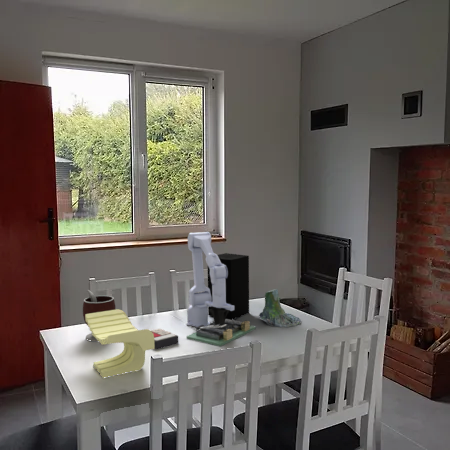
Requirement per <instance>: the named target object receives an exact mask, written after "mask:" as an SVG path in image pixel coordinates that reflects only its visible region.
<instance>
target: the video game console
mask: <svg viewBox="0 0 450 450" xmlns="http://www.w3.org/2000/svg"><path fill="white" fill-rule="evenodd" d="M217 255H218V257H219V259H220V261H221V263H222V264H224V265H226V267H227V270H228V276H227V278H225V279H226V303H227V304H230V305H234V310H233V311H230V310H229V312H228V313H227V316H226V319H230V320H236V319H239V318H241V317H243V316H245V315H249V314H250V256H249V255H244V254H236V253H228V252H225V253H221V254H217ZM207 287H208V288H209V289H210V293H211V297H212V283H211V277H210V269H209V267H208V266H207ZM211 302H213V300H212V301H211ZM210 309H211V307H209V306H208V316H211V317H213V316H212V314H211V312H210Z"/></svg>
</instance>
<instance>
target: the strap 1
mask: <svg viewBox="0 0 450 450" xmlns="http://www.w3.org/2000/svg"><path fill="white" fill-rule="evenodd" d="M224 326H226V324H224V325H222V326H220V325H210V326H209V325H208V326H203V327H200V329H208V328H219V327H224ZM200 329H199V330H200Z"/></svg>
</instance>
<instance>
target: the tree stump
mask: <svg viewBox="0 0 450 450" xmlns="http://www.w3.org/2000/svg"><path fill="white" fill-rule="evenodd" d="M280 300H281V297H280V293H279V289H278V288H276V289H271V290H268V291H265V294H264V307H263V309H262V311H261V312H259V314H258V316H259V318H260V319H261V320H262V321H263V322H264V323H265V324H267V325H268V326H271V327H277V328H292V327H297V326H298V325H301V323H302V320H301V319H300V318H299V317H298V316H296V315H294V314H292V313H289V312H287V313H286V311H285V309H284V308H283V307H282V306H281V302H280Z"/></svg>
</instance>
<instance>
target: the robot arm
mask: <svg viewBox="0 0 450 450" xmlns="http://www.w3.org/2000/svg"><path fill="white" fill-rule="evenodd" d="M187 248H188V250H189V251H190V252H191V258H192V259H191V260H192V271H193V274H192V275H193V283H194V284H193V286H192V287H191V288H190V289H189V290H188V304H189V306H188V308H187V315H186V316H187V323H186V325H187V326H191V327H192V326H193V327H195V328H196V327H198V326H200V325H204V326H209V325H210V323H212V322H211V321H209V315H208V306H209V307H211V309H210V312H211V314H212V316H211V317H212V319H213V321H214V322H215V325H218V324H219V321H220V326H222V325H224V323H225V319H226V316H227V313H228V312H229V310H230V311H233V310H234V305H230V304H227V303H226V279H225V278H227V276H228V270H227V267H226V265H224V264H222V263H221V261H220V259H219V257H218V255H219V254H217V253H214V249H213V248H212V234H211V233H210V232H209V231H203V232H202V231H201V232H189V233H188V236H187ZM203 253H204V255H205V263H206V266H207V268H208V267H209V269H210V277H211V283H212V297H211V293H210V289H209V288H208V286H206V284H205V273H204V259H203V258H204V256H203ZM212 300H213V302H211V301H212Z"/></svg>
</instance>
